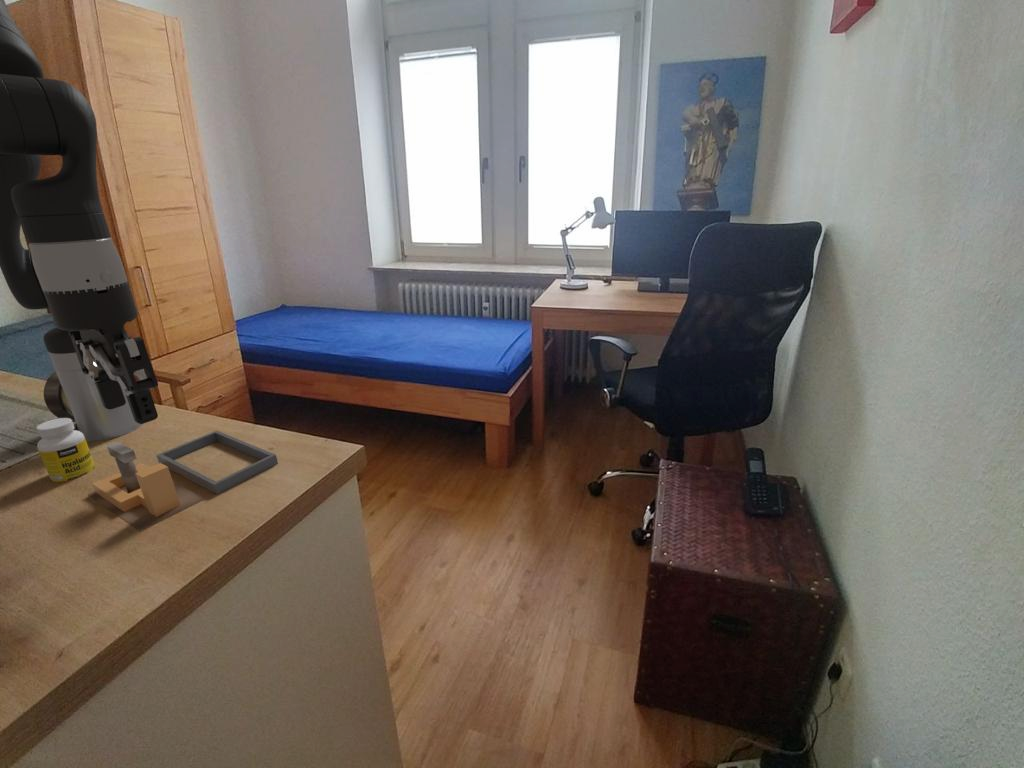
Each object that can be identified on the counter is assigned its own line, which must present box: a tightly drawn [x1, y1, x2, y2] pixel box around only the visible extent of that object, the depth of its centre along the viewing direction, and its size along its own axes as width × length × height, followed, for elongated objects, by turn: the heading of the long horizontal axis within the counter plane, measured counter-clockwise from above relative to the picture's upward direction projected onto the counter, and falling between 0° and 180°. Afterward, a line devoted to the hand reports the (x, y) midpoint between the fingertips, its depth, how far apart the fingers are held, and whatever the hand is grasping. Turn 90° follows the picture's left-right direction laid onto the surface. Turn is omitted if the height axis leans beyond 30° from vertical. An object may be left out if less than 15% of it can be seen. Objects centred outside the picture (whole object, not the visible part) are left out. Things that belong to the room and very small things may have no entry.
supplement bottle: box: [36, 418, 96, 483], centre depth 75 cm, size 5×5×10 cm
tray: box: [156, 430, 279, 495], centre depth 78 cm, size 17×10×3 cm, turn 58°
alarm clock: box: [43, 370, 79, 431], centre depth 93 cm, size 11×5×16 cm, turn 168°
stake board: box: [87, 441, 206, 532], centre depth 69 cm, size 16×8×8 cm, turn 58°
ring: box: [92, 462, 180, 517], centre depth 69 cm, size 14×6×6 cm, turn 58°
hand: (131, 413), depth 62 cm, fingers open, 8 cm apart
